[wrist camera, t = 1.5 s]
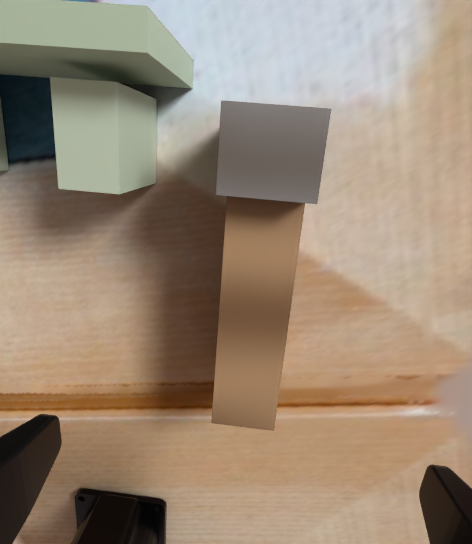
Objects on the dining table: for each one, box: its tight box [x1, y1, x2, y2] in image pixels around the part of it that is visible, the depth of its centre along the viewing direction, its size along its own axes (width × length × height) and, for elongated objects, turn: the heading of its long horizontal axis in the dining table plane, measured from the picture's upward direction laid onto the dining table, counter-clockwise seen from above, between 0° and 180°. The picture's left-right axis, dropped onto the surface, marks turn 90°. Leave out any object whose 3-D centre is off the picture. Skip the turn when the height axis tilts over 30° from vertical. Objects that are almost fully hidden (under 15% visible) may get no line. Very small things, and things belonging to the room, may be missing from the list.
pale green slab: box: [0, 0, 194, 194], centre depth 15 cm, size 6×14×7 cm, turn 86°
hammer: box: [211, 101, 331, 431], centre depth 17 cm, size 14×4×6 cm, turn 176°
